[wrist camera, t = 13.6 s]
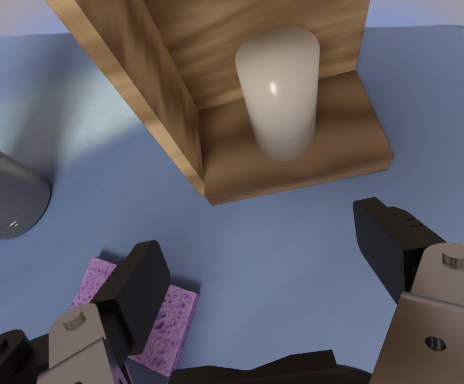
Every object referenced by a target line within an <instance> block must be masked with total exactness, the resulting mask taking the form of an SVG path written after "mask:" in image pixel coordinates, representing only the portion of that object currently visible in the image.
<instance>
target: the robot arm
mask: <svg viewBox="0 0 464 384" xmlns="http://www.w3.org/2000/svg"><path fill="white" fill-rule="evenodd" d="M49 198H50V185H49V183H48V181H47V179H46V178H45V177H44V176H42V175H41V174H39V173H37V172H35V171H34V170H32V169H30V168H29V167H27V166H25V165H23V164H22V163H20V162H18V161H16V160H15V159H13V158H11V157H9V156H8V155H6V154H4V153H2V152H1V151H0V239H9V238H14V237H16V236H19V235H21V234H22V233H24V232H26V231H27V230H28V229H30V228H31V227H32V226H33V225H34V224H35V223H36V222H37V221H38V220H39V219H40V217H41V216H42V214H43V213H44V211H45V209H46V207H47V205H48V201H49ZM353 211H354V220H355V229H356V237H357V242H358V246H359V248H360V251H361V253H362V254H363V256H364V257H365V259H366V260H367V262H368V263H369V265H370V266H371V267H372V269H373V270H374V272H375V273H376V275H377V276H378V278H379V279H380V281H381V282H382V284H383V285H384V286H385V288H386V289H387V291H388V292H389V294H390V295H391V297H392V298H393V300H394V301H395V303H396V304H397V307H396V310H395V313H394V316H393V318H392V321H391V324H390V327H389V330H388V332H387V335H386V338H385V341H384V343H383V346H382V349H381V352H380V354H379V357H378V360H377V363H376V366H375V368H374V371H373V374H371V373H369V372H366V371H364V370H361V369H358V368H354V367H350V366H346V365H340V364H336V361H335V358H334V354H333V351H332V350H325V351H317V352H310V353H302V354H294V355H289V356H286V357H284V358H281V359H279V360H276V361H273V362H271V363H268V364H265V365H263V366H260V367H258V368H255V369H252V370H239V369H231V368H224V367H217V366H201V367H193V368H186V369H178V370H172V372H171V376H170V379H169V383H168V384H464V244H460V243H447V242H446V241H445V240H443V239H442V238H441V237H439V236H438V235H437V234H436V233H434V232H433V231H432V230H430V229H429V228H428V227H427V226H424V225H423V223H421V222H420V221H419V220H418V219H417V220H416V218H415V217H414V216H412V215H411V214H410V213H409V212H407V211H405V210H402V209H399V208H396V207H386V206H385V205H384V204H383V203H382V202H381V201H379V200H378V199H377V198H376V197H372V198H367V199H362V200H357V201H354V202H353ZM169 286H170V272H169V269H168V267H167V264H166V261H165V259H164V256H163V253H162V251H161V248H160V245H159V243H158V242H157V241H156V240H152V241H147V242H142V243H137V244H136V245H135V247H134V248H133V250H132V251H131V252H130V254H129V255H128V256H127V257H126V258H125V259H124V260H123V261H121V262H120V263H119V264H118V265H117V266H116V267H115V268H114V270H113V271H112V272H111V275H109V276H108V278H107V279H106V280H105V282H104V283H103V284H102V286H101V287H100V288H99V290H98V291H97V292H96V294H95V295H94V296H93V298H92V299H91V301H90V302H89V303H87V304H82V305H79V306H77V307H74V308H72V309H71V310H69V311H67V312H66V313H64V314H63V315H62V316H60V317H59V318H58V319H57V320H56V321H55V322H54V323H53V325H52V326H51V328H50V330H49V333H48V334H45V335H43V336H40V337H37V338H35V339H32V340H30V341H29V340H28V338H27V337H26V335H25V334H24V332H23V331H22V330H12V331H9V332H6V333H4V334H1V335H0V384H133V381H132V379H131V376H130V373H129V370H128V368H127V366H126V364H125V360H126V358H127V356H133V355H140V354H142V353H143V351H144V348H145V346H146V343H147V341H148V338H149V336H150V333H151V331H152V328H153V326H154V323H155V321H156V318H157V316H158V313H159V311H160V308H161V306H162V303H163V301H164V298H165V296H166V293H167V291H168V288H169Z"/></svg>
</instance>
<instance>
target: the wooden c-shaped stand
mask: <svg viewBox="0 0 464 384" xmlns="http://www.w3.org/2000/svg"><path fill="white" fill-rule="evenodd" d="M45 1H46V2H47V4H48V5H49V6H50V7H51V9H52V10H53V11H54V12H55V14H56V15H57V16H58V17H59V19H60V20H61V21H62V22H63V24H64V25H65V26H66V27H67V29H68V30H69V31H70V32H71V34H72V35H73V36H74V37H75V39H76V40H77V41H78V42H79V44H80V45H81V46H82V47H83V49H84V50H85V51H86V52H87V54H88V55H89V56H90V58H91V59H92V60H93V61H94V63H95V64H96V65H97V66H98V68H99V69H100V70H101V71H102V73H103V74H104V75H105V76H106V78H107V79H108V80H109V81H110V83H111V84H112V85H113V86H114V88H115V89H116V90H117V91H118V93H119V94H120V95H121V96H122V98H123V99H124V100H125V101H126V103H127V104H128V105H129V106H130V108H131V109H132V110H133V111H134V113H135V114H136V115H137V116H138V118H139V119H140V120H141V121H142V123H143V124H144V125H145V126H146V128H147V129H148V130H149V131H150V133H151V134H152V135H153V136H154V138H155V139H156V140H157V141H158V143H159V144H160V145H161V147H162V148H163V149H164V150H165V152H166V153H167V154H168V155H169V157H170V158H171V159H172V160H173V162H174V163H175V164H176V165H177V167H178V168H179V169H180V170H181V172H182V173H183V174H184V175H185V177H186V178H187V179H188V180H189V182H190V183H191V184H192V185H193V187H194V188H195V189H196V190H197V192H198V193H199V194H200V195H205V197H206V198H207V200H208V201H209V202H210V204H211V205H217V204H222V203H227V202H232V201H237V200H242V199H247V198H251V197H256V196H261V195H266V194H271V193H276V192H281V191H286V190H291V189H296V188H301V187H305V186H310V185H315V184H320V183H325V182H330V181H335V180H340V179H345V178H350V177H355V176H359V175H364V174H369V173H374V172H379V171H384V170H387V169H388V168H389V166H390V164H391V162H392V160H393V158H394V157H395V156H394V154H393V152H392V150H391V147H390V145H389V143H388V141H387V139H386V136H385V134H384V132H383V130H382V127H381V125H380V123H379V121H378V119H377V116H376V114H375V112H374V110H373V107H372V105H371V103H370V101H369V99H368V96H367V94H366V92H365V90H364V88H363V85H362V83H361V81H360V79H359V76H358V74H357V72H356V65H357V60H358V55H359V51H360V46H361V41H362V36H363V31H364V26H365V22H366V17H367V12H368V7H369V2H370V0H45ZM278 25H294V26H299V27H302V28H304V29H307V30H308V31H310V32H311V33H312V34H314V36H315V37H316V38H317V40H318V42H319V46H320V54H319V71H318V89H317V106H316V123H315V138H314V142H313V144H312V146H311V148H310V149H309V150H308V151H307V152H306V153H305V154H304V155H302V156H301V157H299V158H297V159H294V160H290V161H276V160H272V159H269V158H267V157H266V156H264V155H263V154H262V153H261V152H260V151H259V149H258V147H257V145H256V141H255V137H254V134H253V130H252V126H251V122H250V118H249V115H248V111H247V107H246V103H245V99H244V96H243V92H242V88H241V84H240V80H239V77H238V73H237V69H236V65H235V58H236V54H237V52H238V49H239V48H240V46H241V45H242V44H243V43H244V42H245V41H246V40H247V39H248V38H249V37H250V36H252V35H253V34H255V33H257V32H259V31H261V30H263V29H266V28H269V27H273V26H278Z"/></svg>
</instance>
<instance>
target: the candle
mask: <svg viewBox="0 0 464 384" xmlns="http://www.w3.org/2000/svg"><path fill="white" fill-rule="evenodd" d="M319 54H320V46H319V42H318V40H317V38H316V37H315V36H314V34H312V33H311V32H310V31H308V30H307V29H304V28H302V27H299V26H294V25H278V26H273V27H269V28H266V29H263V30H261V31H259V32H257V33H255V34H253V35H252V36H250V37H249V38H248V39H247V40H246V41H245V42H244V43H243V44H242V45H241V46H240V48H239V49H238V52H237V54H236V58H235V65H236V69H237V73H238V77H239V80H240V84H241V88H242V92H243V96H244V99H245V103H246V107H247V111H248V115H249V118H250V122H251V126H252V130H253V134H254V137H255V141H256V145H257V147H258V149H259V151H260V152H261V153H262V154H263V155H264V156H266V157H267V158H269V159H272V160H276V161H290V160H294V159H297V158H299V157H301V156H302V155H304V154H305V153H306V152H307V151H308V150H309V149H310V148H311V146H312V144H313V142H314V138H315V123H316V106H317V89H318V71H319Z"/></svg>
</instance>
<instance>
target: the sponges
mask: <svg viewBox="0 0 464 384" xmlns="http://www.w3.org/2000/svg"><path fill="white" fill-rule="evenodd" d="M116 266H117V265H116V264H114V263H112V262H109V261H106V260H102V259H99V258H97V257H93V258H92V260H91V262H90V264H89V267H88V269H87V271H86V273H85V276H84V278H83V280H82V282H81V287H80V289H79V290H78V292H77V294H76V297H75V298H74V300H73V303H72V305H71V307H70V309H69V310H71V309H72V308H74V307H77V306H79V305H82V304H87V303H89V302H90V301H91V299H92V298H93V296H94V295H95V294H96V292H97V291H98V290H99V288H100V287H101V286H102V284H103V283H104V282H105V280H106V279H107V278H108V276H109V275H111V272H112V271H113V270H114V268H115V267H116ZM198 299H199V294H197V293H195V292H192V291H188V290H185V289H182V288H180V287H177V286H174V285H172V284H170V286H169V288H168V291H167V293H166V296H165V298H164V301H163V303H162V306H161V308H160V311H159V313H158V316H157V318H156V321H155V323H154V326H153V328H152V331H151V333H150V336H149V338H148V341H147V343H146V346H145V348H144V351H143V353H142V354H140V355H133V356H127V357H129V358H130V359H132V360H134V361H136V362H138V363H140V364H143V365H144V366H146V367H148V368H149V369H151V370H153V371H156V372H158V373H160V374H162V375H164V376H166V377H169V376H171V372H172V370H175V369H176V367H177V364H178V360H179V357H180V355H181V351H182V348H183V345H184V342H185V339H186V336H187V333H188V330H189V327H190V324H191V321H192V318H193V315H194V311H195V309H196V306H197V302H198ZM69 310H68V311H69Z"/></svg>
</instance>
